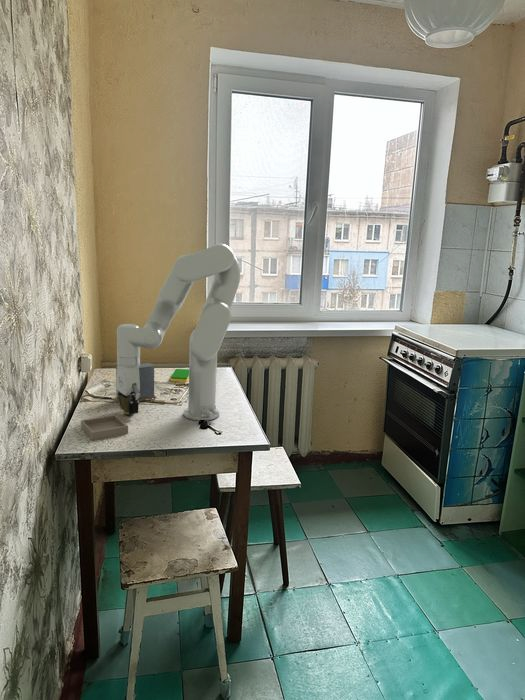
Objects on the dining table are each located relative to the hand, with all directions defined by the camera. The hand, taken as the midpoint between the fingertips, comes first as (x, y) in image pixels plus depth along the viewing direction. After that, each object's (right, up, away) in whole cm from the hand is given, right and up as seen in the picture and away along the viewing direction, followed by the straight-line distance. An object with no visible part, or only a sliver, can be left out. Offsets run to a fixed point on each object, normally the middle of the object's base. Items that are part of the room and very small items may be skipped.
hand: (128, 409), depth 168 cm
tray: (-4, -5, -14) cm, 16 cm away
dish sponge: (+10, +8, +48) cm, 50 cm away
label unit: (-2, +2, +16) cm, 16 cm away
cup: (0, -2, 0) cm, 2 cm away
